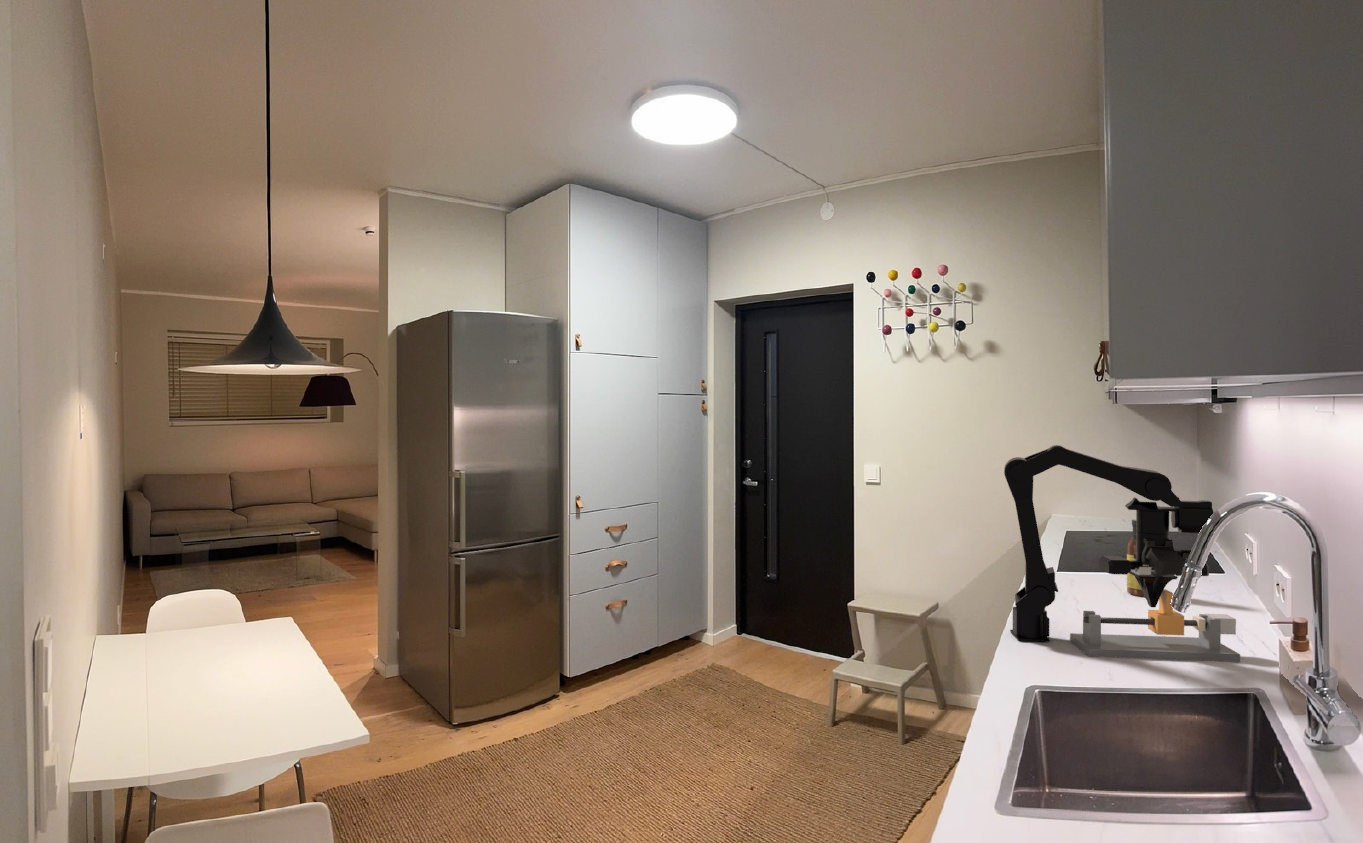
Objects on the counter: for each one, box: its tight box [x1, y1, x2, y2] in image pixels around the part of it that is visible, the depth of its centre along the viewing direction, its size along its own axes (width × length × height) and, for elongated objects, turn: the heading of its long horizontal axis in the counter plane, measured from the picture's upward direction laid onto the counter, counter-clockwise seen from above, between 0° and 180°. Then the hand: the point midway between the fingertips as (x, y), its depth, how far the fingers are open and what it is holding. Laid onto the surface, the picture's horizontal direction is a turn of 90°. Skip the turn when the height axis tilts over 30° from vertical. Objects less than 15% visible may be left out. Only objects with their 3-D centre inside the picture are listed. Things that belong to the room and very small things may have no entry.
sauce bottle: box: [1126, 518, 1149, 597], centre depth 194 cm, size 7×6×20 cm
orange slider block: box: [1147, 588, 1185, 636], centre depth 151 cm, size 5×4×8 cm
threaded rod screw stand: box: [1069, 610, 1241, 663], centre depth 151 cm, size 29×10×8 cm, turn 81°
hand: (1152, 607), depth 151 cm, fingers closed
